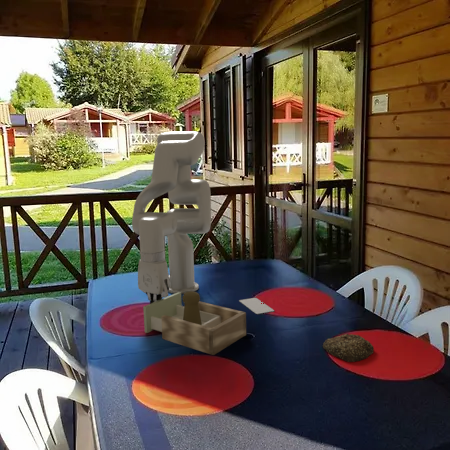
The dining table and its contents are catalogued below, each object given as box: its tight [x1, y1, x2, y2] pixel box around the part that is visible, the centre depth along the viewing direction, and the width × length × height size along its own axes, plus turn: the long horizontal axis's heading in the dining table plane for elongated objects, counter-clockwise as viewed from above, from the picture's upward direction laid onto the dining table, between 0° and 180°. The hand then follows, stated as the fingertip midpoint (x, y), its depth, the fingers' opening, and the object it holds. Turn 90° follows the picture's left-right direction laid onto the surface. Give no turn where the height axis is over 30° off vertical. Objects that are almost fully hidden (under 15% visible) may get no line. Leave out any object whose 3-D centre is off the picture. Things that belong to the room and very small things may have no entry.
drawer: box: [143, 292, 221, 334], centre depth 144 cm, size 18×16×8 cm
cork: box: [182, 291, 202, 325], centre depth 142 cm, size 6×6×11 cm
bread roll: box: [322, 333, 375, 363], centre depth 130 cm, size 13×12×5 cm
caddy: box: [161, 301, 247, 356], centre depth 140 cm, size 19×16×7 cm
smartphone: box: [238, 297, 275, 315], centre depth 165 cm, size 7×1×15 cm
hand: (155, 311), depth 152 cm, fingers closed
